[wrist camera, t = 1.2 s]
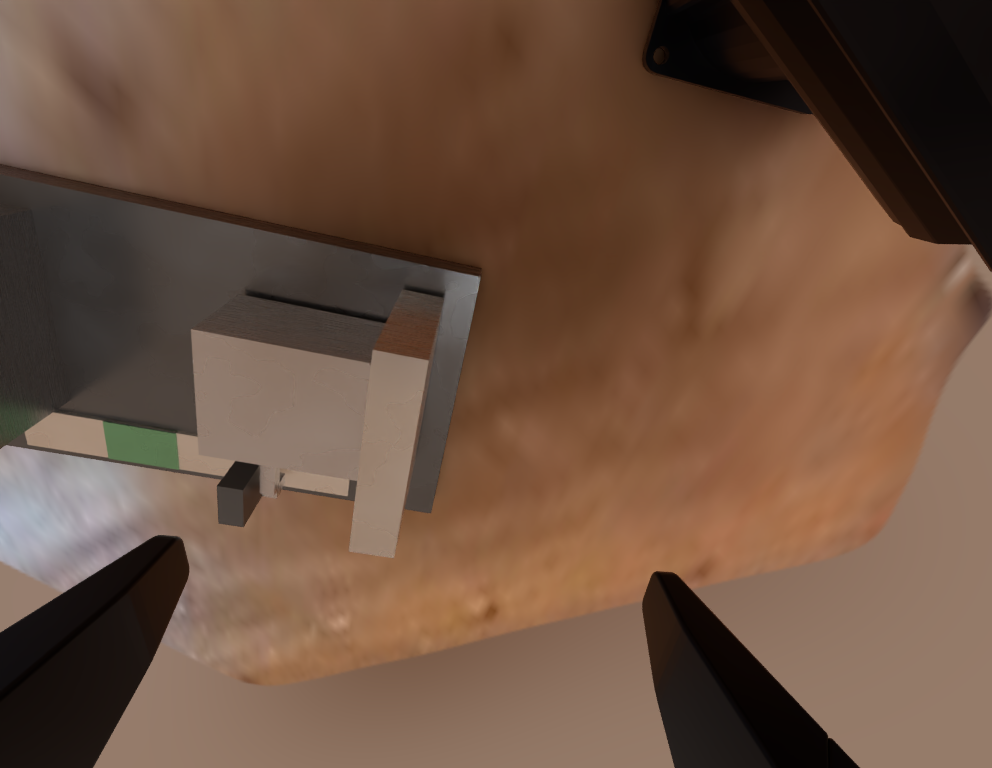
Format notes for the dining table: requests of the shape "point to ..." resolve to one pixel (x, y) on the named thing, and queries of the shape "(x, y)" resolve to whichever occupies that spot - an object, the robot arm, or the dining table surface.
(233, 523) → the charcoal cuboid
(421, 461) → the gauge bench
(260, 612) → the dining table surface
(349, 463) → the block with end plate
